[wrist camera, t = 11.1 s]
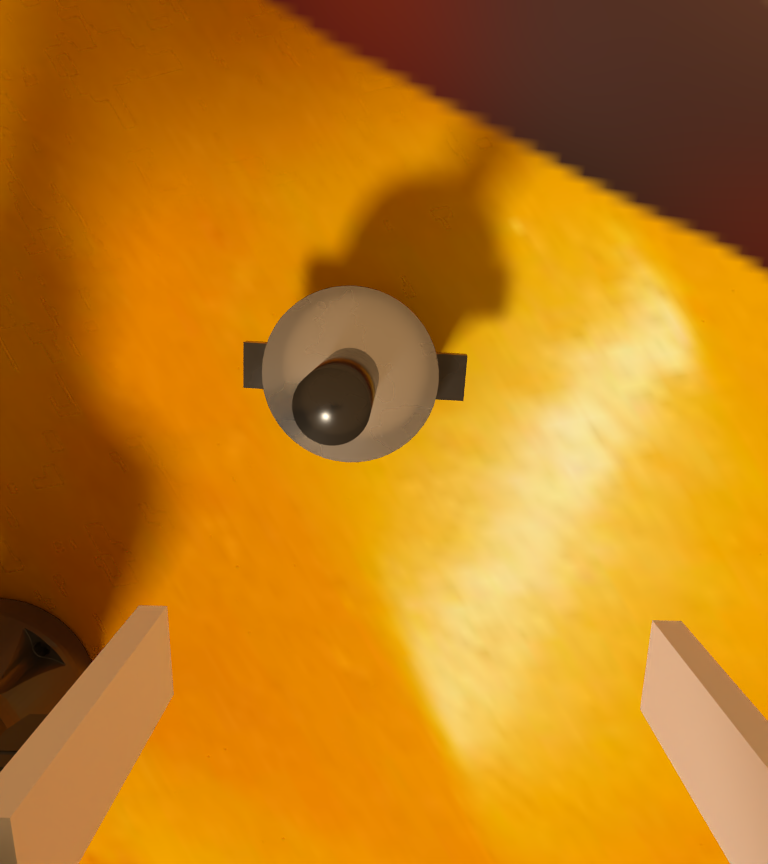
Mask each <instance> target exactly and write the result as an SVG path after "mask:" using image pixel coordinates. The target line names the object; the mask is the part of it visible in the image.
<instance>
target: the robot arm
mask: <svg viewBox="0 0 768 864" xmlns="http://www.w3.org/2000/svg"><path fill="white" fill-rule="evenodd" d="M173 694H174V693H173V680H172V666H171V653H170V639H169V625H168V612H167V606H141V605H139V606H138V608H137V609H136V610H135V611H134V612H133V614H132V615H131V616H130V617H129V618H128V620H127V621H126V622H125V623H124V624H123V626H122V627H121V628H120V629H119V630H118V632H117V633H116V634H115V635H114V636H113V638H112V639H111V640H110V641H109V642H108V644H107V645H106V646H105V647H104V648H103V650H102V651H101V652H100V653H99V654H98V656H97V657H96V658H95V659H94V660H93V662H92V663H91V661H90V659H89V656H88V654H87V652H86V650H85V648H84V647H83V645H82V644H81V642H80V641H79V639H78V638H77V637H76V636H75V634H74V633H73V632H72V631H71V630H70V629H69V628H68V627H67V626H66V625H65V624H64V623H62V622H61V621H60V620H59V619H57V618H56V617H54V616H53V615H51V614H50V613H48V612H46V611H44V610H42V609H40V608H38V607H36V606H33V605H31V604H28V603H24V602H21V601H17V600H11V599H0V864H78V863H79V862H80V860H81V858H82V856H83V854H84V853H85V851H86V849H87V847H88V846H89V844H90V842H91V840H92V838H93V837H94V835H95V833H96V831H97V830H98V828H99V826H100V824H101V822H102V821H103V819H104V817H105V815H106V814H107V812H108V810H109V808H110V806H111V805H112V803H113V801H114V799H115V798H116V796H117V794H118V792H119V790H120V789H121V787H122V785H123V783H124V782H125V780H126V778H127V776H128V774H129V773H130V771H131V769H132V767H133V766H134V764H135V762H136V760H137V758H138V757H139V755H140V753H141V751H142V750H143V748H144V746H145V744H146V742H147V741H148V739H149V737H150V735H151V734H152V732H153V730H154V728H155V726H156V725H157V723H158V721H159V719H160V718H161V716H162V714H163V712H164V710H165V709H166V707H167V705H168V703H169V702H170V700H171V698H172V696H173ZM640 710H641V711H642V713H643V715H644V716H645V718H646V720H647V722H648V723H649V725H650V727H651V728H652V730H653V732H654V734H655V735H656V737H657V739H658V740H659V742H660V744H661V746H662V747H663V749H664V751H665V753H666V754H667V756H668V758H669V759H670V761H671V763H672V765H673V766H674V768H675V770H676V771H677V773H678V775H679V777H680V778H681V780H682V782H683V783H684V785H685V787H686V789H687V790H688V792H689V794H690V795H691V797H692V799H693V801H694V802H695V804H696V806H697V807H698V809H699V811H700V813H701V814H702V816H703V818H704V819H705V821H706V823H707V825H708V826H709V828H710V830H711V831H712V833H713V835H714V837H715V838H716V840H717V842H718V843H719V845H720V847H721V849H722V850H723V852H724V854H725V855H726V857H727V859H728V861H729V862H730V864H768V721H767V720H766V719H765V717H764V716H763V715H762V714H761V713H760V712H759V711H758V709H757V708H756V707H755V706H754V705H753V704H752V702H751V701H750V700H749V699H748V698H747V697H746V696H745V694H744V693H743V692H742V691H741V690H740V689H739V687H738V686H737V685H736V684H735V683H734V682H733V680H732V679H731V678H730V677H729V676H728V675H727V674H726V672H725V671H724V670H723V669H722V668H721V667H720V665H719V664H718V663H717V662H716V661H715V660H714V659H713V657H712V656H711V655H710V654H709V653H708V652H707V650H706V649H705V648H704V647H703V646H702V645H701V643H700V642H699V641H698V640H697V639H696V638H695V637H694V635H693V634H692V633H691V632H690V631H689V630H688V628H687V627H686V626H685V625H684V624H683V623H682V622H681V621H657V620H652V627H651V634H650V642H649V649H648V656H647V664H646V671H645V678H644V686H643V693H642V700H641V708H640Z"/></svg>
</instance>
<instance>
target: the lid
mask: <svg viewBox="0 0 768 864" xmlns="http://www.w3.org/2000/svg"><path fill="white" fill-rule="evenodd" d="M262 383H263V388H264V394H265V397H266V400H267V403H268V406H269V408H270V410H271V412H272V414H273V416H274V418H275V419H276V421H277V422H278V424H279V425H280V427H281V428H282V429H283V430H284V431H285V433H286V434H287V435H288V436H289V437H290V438H291V439H293V440H294V441H295V442H296V443H297V444H299V445H300V446H302V447H303V448H304V449H306V450H308V451H310V452H312V453H314V454H316V455H319V456H321V457H324V458H327V459H331V460H335V461H342V462H361V461H369V460H373V459H377V458H380V457H383V456H385V455H388V454H390V453H392V452H394V451H395V450H397V449H399V448H400V447H402V446H403V445H404V444H406V443H407V442H408V441H409V440H411V439H412V438H413V437H414V436H415V435H416V434H417V432H418V431H419V430H420V429H421V427H422V426H423V425H424V423H425V422H426V420H427V418H428V417H429V415H430V412H431V410H432V408H433V406H434V402H435V399H436V395H437V390H438V383H439V368H438V360H437V356H436V352H435V348H434V345H433V343H432V340H431V338H430V336H429V334H428V332H427V330H426V329H425V327H424V325H423V324H422V323H421V321H420V320H419V319H418V317H417V316H416V315H415V314H414V313H413V312H412V311H411V310H410V309H409V308H408V307H407V306H405V305H404V304H403V303H401V302H400V301H399V300H397V299H395V298H394V297H392V296H390V295H388V294H386V293H383V292H381V291H379V290H375V289H371V288H367V287H360V286H338V287H331V288H327V289H324V290H320V291H317V292H315V293H313V294H311V295H308V296H307V297H305V298H303V299H302V300H300V301H299V302H297V303H296V304H295V305H294V306H292V307H291V308H290V309H289V310H288V311H287V312H286V313H285V314H284V315H283V316H282V317H281V319H280V320H279V321H278V323H277V324H276V326H275V327H274V329H273V331H272V333H271V335H270V337H269V339H268V342H267V345H266V348H265V352H264V356H263V363H262Z"/></svg>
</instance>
